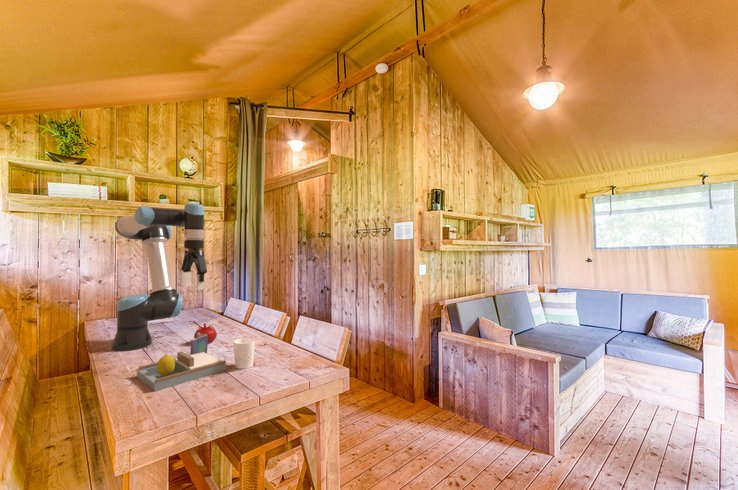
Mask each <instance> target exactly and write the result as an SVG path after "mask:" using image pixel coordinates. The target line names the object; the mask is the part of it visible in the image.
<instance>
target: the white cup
mask: <svg viewBox="0 0 738 490" xmlns="http://www.w3.org/2000/svg"><path fill="white" fill-rule="evenodd" d="M255 347H256V338H251V337H243V338H238V339H235V340H234V341H233V355H234V356H233V358H234V367H235V368H236V369H239V370H244V369H250V368H252V367H253V366H254V358H255V349H256V348H255Z"/></svg>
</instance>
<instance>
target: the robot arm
mask: <svg viewBox="0 0 738 490" xmlns="http://www.w3.org/2000/svg"><path fill="white" fill-rule="evenodd" d="M204 210H205V208H204V205H202V204H199V203H186V204H184V209H178V208H177V209H176V208H161V207H150V206H138V207H137V208H136V210H135V212H134V214H132V215H125V216H121V217H120V218H118V219H117V220H116V221H115V224H114V229H115V231H116V233H117V234H118V235H120V236H121V237H123V238H125V239H128V240H136V241H138V240H140V241H141V244H142V245H143V246H145V248H146V253H147V254H146V255H147V261H148V262H147V263H148V267H149V275H150V282H151V288H152V290H151V292H150V293H149V295H148V294H146V293H139V294H132V295H128V296H127V295H126V296H125V297H122V298H119V300H118V301H117V303H116V333H115V336H114V339H113V340H112V344H111V349H112V350H113V351H117V352H118V351H123V352H125V351H132V350H133V351H134V350H139V349H143V348H146V347H149V346H151V345H152V343H153V339H152V335H151V333H150V330H149V328H148V326H149V325H148V322H151V321H157V320H166V319H170V318H171V319H172V318H175V317H178V316H180V314H181V313H182V310H183V306H184V298H183V295H182V294H181V293H177V289H176V288H175V287H173V282H172V278H171V277H172V276H171V271H170V264H169V259H168V251H167V246H166V244H168V242H169V240H170V239H171V237H172V228H171V227H179V228H183V229H184V231H183V232H182V233H183V234H184V236H183V237H184V241H183V247H184V254H183V260H182V265H181V271H182V272H183V287H184V288H186V287H187V288H188V287H189V288H190V287H192V285H191V284H192V281H191V280H192V274H191V273H192V266H193V263H194V265H195V268H196V271H197V272H196V291H199V290H200V291H202V290H205V274H206V273H208V269H207V263H206V259H205V252H204V250H201V249H204V240H203V239H205V230H204V229H205V228H204V227H205V226H204V224H205V211H204Z"/></svg>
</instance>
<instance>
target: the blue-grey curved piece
mask: <svg viewBox="0 0 738 490" xmlns="http://www.w3.org/2000/svg"><path fill="white" fill-rule="evenodd" d="M196 334H197V333H196ZM200 334H201V333H198V334H197V337H195V338H194V337H193V338H191V339H190V354H194V353H199V352H203V351H206V353H207V354H208V343H207V342H208V335H207V334H202V335H200Z"/></svg>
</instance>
